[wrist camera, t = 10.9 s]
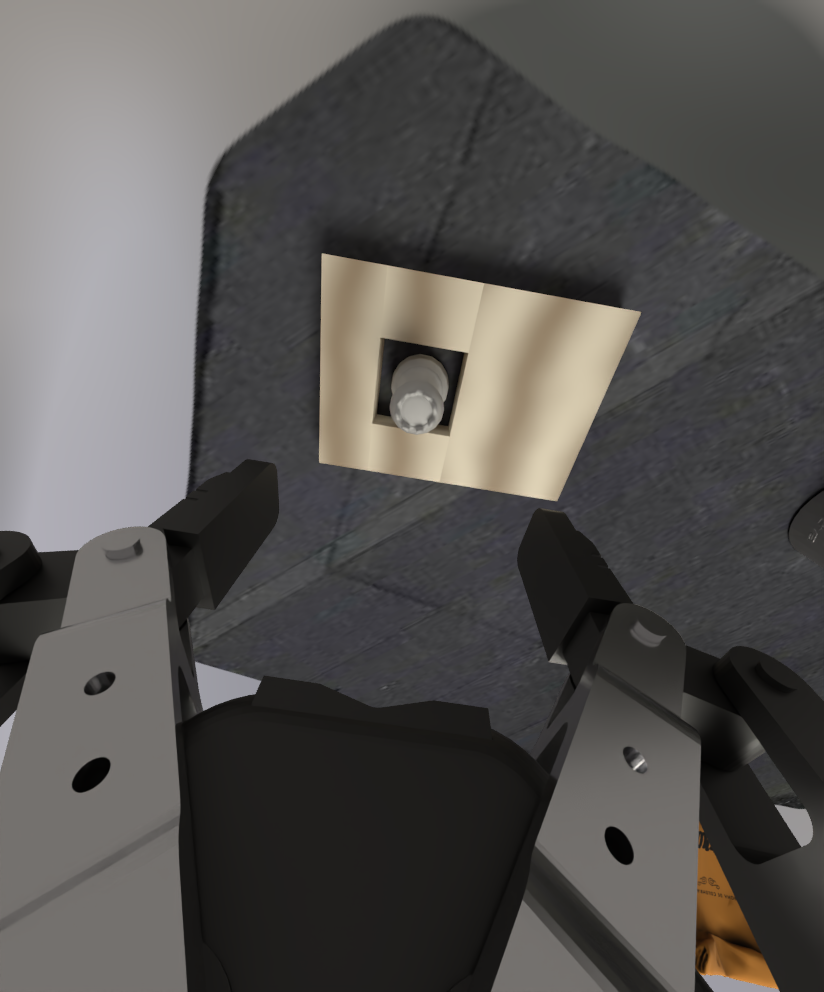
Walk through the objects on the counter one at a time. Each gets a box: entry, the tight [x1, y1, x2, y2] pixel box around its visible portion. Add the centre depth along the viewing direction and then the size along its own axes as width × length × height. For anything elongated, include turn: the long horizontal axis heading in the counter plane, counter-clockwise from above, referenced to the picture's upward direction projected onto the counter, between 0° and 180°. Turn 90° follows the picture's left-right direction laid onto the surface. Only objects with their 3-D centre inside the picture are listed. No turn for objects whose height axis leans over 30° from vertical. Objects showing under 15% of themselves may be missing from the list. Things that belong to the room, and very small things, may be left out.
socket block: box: [319, 253, 641, 501], centre depth 25 cm, size 20×14×2 cm
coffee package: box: [695, 822, 778, 989], centre depth 38 cm, size 10×12×22 cm
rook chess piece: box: [390, 354, 449, 435], centre depth 22 cm, size 4×4×8 cm
